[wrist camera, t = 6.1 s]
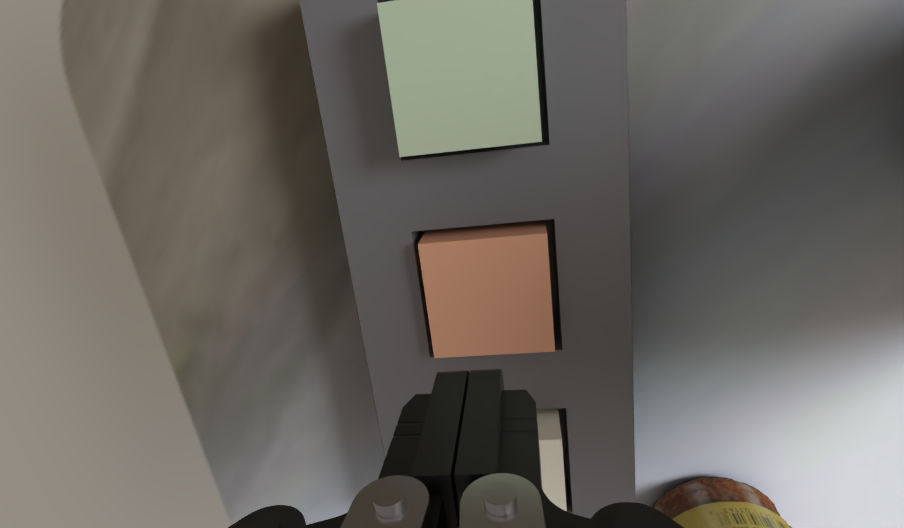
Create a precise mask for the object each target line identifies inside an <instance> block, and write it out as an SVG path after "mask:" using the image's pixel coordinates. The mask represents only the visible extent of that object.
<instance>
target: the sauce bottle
mask: <svg viewBox="0 0 904 528" xmlns="http://www.w3.org/2000/svg"><path fill="white" fill-rule="evenodd" d="M653 508H655V509H657V510H659V511H660V512H662V513H664V514H665V515H667V516H668V517H669V518H671V519H672V520H674V521H675V522H677V523H678V524H679V525H681V526H682V527H684V528H792V527H791V526H789V525H788V524H787V523H786V521H785V520H784V519H783V518H781V517H780V514H779V513H778V511H777V509H776V507H775V505H774V504H773V502H772V501H771V500H770V499H769V498H768V497H767V496H765V495H764V494H763V493H761V492H760V491H759V490H757V489H756V488H754V487H752V486H750V485H747V484H745V483H740V482H736V481H734V480H732V479H728V478H717V477H713V478H698V479H695V480H692V481H689V482H686V483H682V484H681V485H679V486H677V487H676V488H674V489H672V490H670V491H668V492H667V493H666V494H665V495H663V496H662V497H661V498H659V499H658V500H657V501H656V503H655V504H654V506H653Z"/></svg>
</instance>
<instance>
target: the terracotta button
mask: <svg viewBox="0 0 904 528" xmlns="http://www.w3.org/2000/svg"><path fill="white" fill-rule="evenodd" d="M418 249H419V256H420V263H421V270H422V277H423V284H424V291H425V298H426V305H427V311H428V318H429V325H430V332H431V339H432V346H433V353H434V358H447V357H465V356H484V355H502V354H520V353H538V352H555V342H554V327H553V312H552V297H551V282H550V268H549V253H548V238H547V230H546V225H545V221H544V220H536V221H525V222H514V223H503V224H491V225H480V226H469V227H458V228H447V229H435V230H426V231H425V233H424V234H423V236H422V238H421V240H420V241H419V243H418Z"/></svg>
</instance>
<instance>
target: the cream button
mask: <svg viewBox="0 0 904 528" xmlns="http://www.w3.org/2000/svg"><path fill="white" fill-rule="evenodd" d="M536 411H537V423H538V436H539V448H540V461H541V477H542V489H543V492H544V493H545V495H546V496H547V498H548V499H549V500H550V501H551V502H552V503H554V504H555V505H556V506H558V507H559V508H561V509H562V510H565V511H567V507H566V492H565V477H564V462H563V447H562V436H561V428H560V421H559V413H558V408H557V409H536Z"/></svg>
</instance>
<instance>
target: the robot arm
mask: <svg viewBox="0 0 904 528" xmlns="http://www.w3.org/2000/svg"><path fill="white" fill-rule="evenodd" d="M397 423H398V425H396V428H395V431H394V434H393V438H392V440H391V443H390V446H389V449H388V452H387V455H386V458H385V461H384V464H383V467H382V470H381V473H380V476H379V478H378V480H376V481H374V482H372V483H370V484H368V485H367V486H366V487H364V488H363V489H362V490H361V491H360V492H359V493H358V494H357V495H356V497H355V499H354V500H353V502H352V504H351V506H350V509H349V511H348V513H346V514H344V515H341V516H338V517H335V518H332V519H328V520H324V521H320V522H317V523H313V524H309V525H306V523H305V519H304V517H303V515H302V513H301V512H300V511H299V510H297V509H296V508H294V507H291V506H286V505H275V506H269V507H265V508H262V509H259V510H257V511H255V512H252V513H251V514H249V515H247V516H245V517H244V518H242V519H241V520H239V521H238V522H236V523H235V524H233V525H231V526H230V527H228V528H684V527H682V526H681V525H679V524H678V523H677V522H675V521H674V520H672V519H671V518H669V517H668V516H667V515H665V514H664V513H662V512H660V511H659V510H657V509H655V508H653V507H650V506H647V505H644V504H640V503H635V502H619V503H613V504H610V505H607V506H605V507H603V508H601V509H600V510H598V511H597V512H596V513H595V514H594V515H593V516H592V518H591V519H590V518H586V517H582V516H578V515H575V514H572V513H569V512H567V511H565V510H562V509H561V508H559V507H558V506H556V505H555V504H554V503H552V502H551V501H550V500H549V499H548V498H547V496H546V495H545V493H544V492H543V489H542V477H541V461H540V448H539V436H538V423H537V411H536V402H535V401H534V399H533V398H532V397H531V396H530V394H529V393H528V392H527V390H526V389H524V390H504V380H503V372H502V369H484V370H471V371H470V373H469V371H468V370H466V371H445V372H437V374H436V378H435V382H434V385H433V389H432V393H431V394H415V395H414V396H413V398H412V399H411V400H410V401H409V402H408V403H407V404H406V405H405V406H404V407H403V408H402V411H401V414H400V417H399V420H398V422H397Z"/></svg>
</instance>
